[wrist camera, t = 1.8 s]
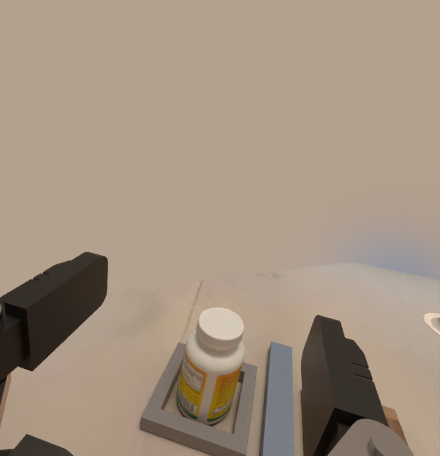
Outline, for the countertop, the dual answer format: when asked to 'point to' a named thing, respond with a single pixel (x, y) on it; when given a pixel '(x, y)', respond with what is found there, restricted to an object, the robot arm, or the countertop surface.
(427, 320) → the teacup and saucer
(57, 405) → the countertop surface
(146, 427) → the holder open
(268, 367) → the door sill
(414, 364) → the countertop surface
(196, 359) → the supplement bottle
